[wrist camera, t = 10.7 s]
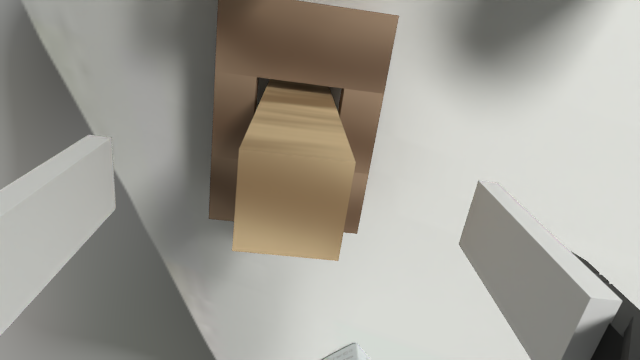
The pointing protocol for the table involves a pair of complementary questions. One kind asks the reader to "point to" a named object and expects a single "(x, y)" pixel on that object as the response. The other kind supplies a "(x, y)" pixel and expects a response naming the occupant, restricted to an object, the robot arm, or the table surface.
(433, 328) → the table surface
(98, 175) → the robot arm
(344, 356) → the skincare box
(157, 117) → the table surface
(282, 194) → the peg long
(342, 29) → the bridge
